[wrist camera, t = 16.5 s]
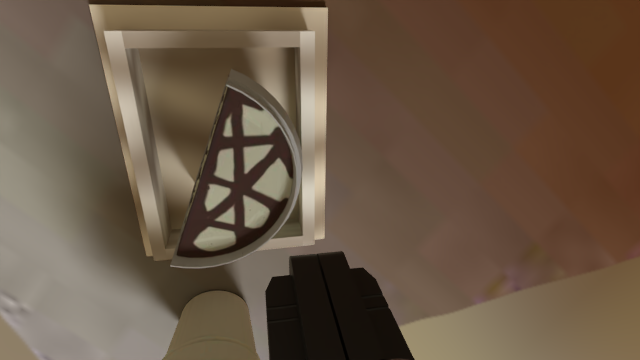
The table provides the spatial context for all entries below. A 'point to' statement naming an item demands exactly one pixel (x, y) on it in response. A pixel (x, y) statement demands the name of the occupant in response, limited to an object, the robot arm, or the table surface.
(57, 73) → the table surface
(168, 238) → the holder
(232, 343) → the ice cream cone
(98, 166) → the table surface
